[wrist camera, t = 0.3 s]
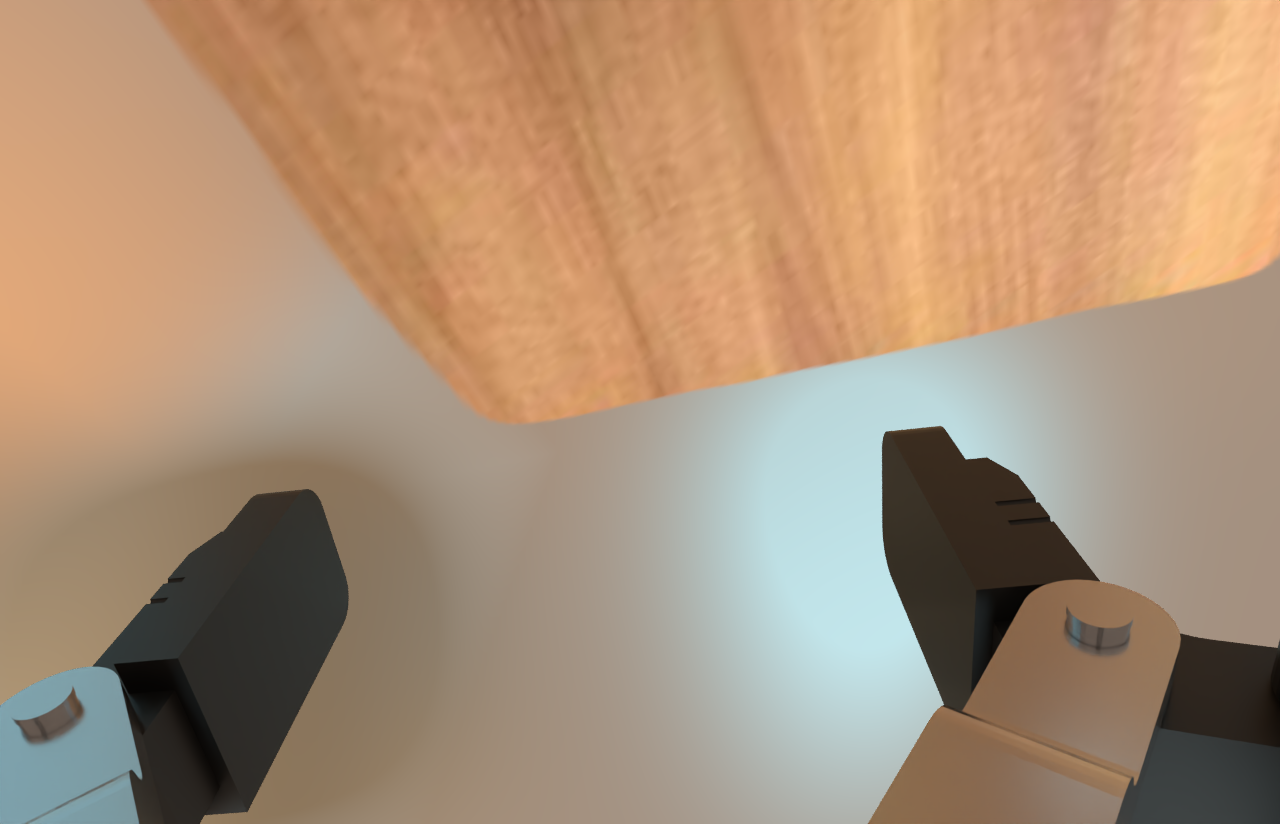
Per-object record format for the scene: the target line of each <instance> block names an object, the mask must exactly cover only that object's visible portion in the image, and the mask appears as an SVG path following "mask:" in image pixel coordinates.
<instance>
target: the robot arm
mask: <svg viewBox="0 0 1280 824" xmlns="http://www.w3.org/2000/svg"><path fill="white" fill-rule="evenodd" d="M882 523H883V524H882V528H883V542H884V550H885V556H886V560H887V564H888V568H889V572H890V575H891V577H892V580H893V582H894V584H895V587H896V589H897V592H898V594H899V597H900V599H901V601H902V604H903V606H904V609H905V611H906V613H907V616H908V618H909V621H910V623H911V625H912V628H913V630H914V633H915V635H916V638H917V640H918V642H919V645H920V647H921V650H922V652H923V654H924V657H925V659H926V662H927V664H928V667H929V669H930V671H931V674H932V676H933V679H934V681H935V683H936V686H937V688H938V691H939V693H940V696H941V698H942V701H943V703H944V705H943V706H941V707H940V708H939V709H937V711H936V712H935V713H934V714H933V716H932V717H931V719H930V720H929V722H928V723H927V725H926V727H925V729H924V730H923V732H922V733H921V735H920V737H919V739H918V740H917V742H916V744H915V745H914V747H913V749H912V750H911V752H910V754H909V756H908V757H907V759H906V760H905V762H904V764H903V765H902V767H901V769H900V771H899V772H898V774H897V776H896V777H895V779H894V781H893V782H892V784H891V786H890V787H889V789H888V791H887V792H886V794H885V796H884V798H883V799H882V801H881V803H880V804H879V806H878V808H877V809H876V811H875V813H874V814H873V816H872V818H871V820H870V821H869V823H868V824H1280V641H1279V645H1278V648H1274V647H1266V646H1257V645H1250V644H1241V643H1233V642H1226V641H1217V640H1210V639H1204V638H1198V637H1193V636H1189V635H1184V634H1180V632H1179V629H1178V627H1177V625H1176V623H1175V621H1174V620H1173V619H1172V618H1171V616H1170V615H1169V614H1168V613H1167V612H1166V611H1165V610H1164V609H1163V608H1161V607H1160V606H1159V605H1158V604H1156V603H1155V602H1153V601H1152V600H1150V599H1148V598H1147V597H1145V596H1142V595H1141V594H1139V593H1137V592H1134V591H1132V590H1129V589H1127V588H1124V587H1120V586H1117V585H1114V584H1109V583H1105V582H1100V580H1099V579H1098V578H1097V577H1096V575H1095V574H1094V573H1093V572H1092V570H1091V569H1090V568H1089V566H1088V565H1087V564H1086V562H1085V561H1084V560H1083V559H1082V557H1081V556H1080V555H1079V553H1078V552H1077V551H1076V549H1075V548H1074V547H1073V546H1072V544H1071V543H1070V542H1069V540H1068V539H1067V538H1066V537H1065V535H1064V534H1063V533H1062V532H1061V530H1060V529H1059V528H1058V526H1057V525H1056V524H1055V522H1051V521H1050V516H1049V515H1048V513H1047V512H1046V511H1045V510H1044V508H1043V507H1042V506H1041V504H1040V503H1038V502H1037V503H1036V500H1035V497H1034V495H1033V494H1032V493H1031V491H1030V490H1029V489H1028V488H1027V486H1026V485H1025V484H1024V482H1023V481H1022V480H1021V479H1020V477H1019V476H1018V475H1016V474H1015V473H1013V472H1011V471H1009V470H1008V469H1006V468H1004V467H1002V466H1001V465H999V464H997V463H995V462H994V461H992V460H990V459H989V458H977V459H967V460H966V459H965V458H964V456H963V455H962V453H961V452H960V451H959V449H958V448H957V446H956V445H955V443H954V442H953V440H952V439H951V438H950V436H949V435H948V433H947V432H946V430H945V429H944V428H943V427H941V426H937V427H927V428H917V429H907V430H897V431H888V432H885V434H884V437H883V443H882ZM150 600H151V603H150V604H146V605H145V606H144V607H143V608H142V609H141V611H140V612H139V613H138V614H137V615H136V616H135V618H134V619H133V620H132V621H131V622H130V624H129V625H128V626H127V627H126V628H125V629H124V630H123V632H122V633H121V634H120V635H119V636H118V637H117V639H116V640H115V641H114V642H113V644H111V646H110V647H109V648H108V649H107V650H106V651H105V653H104V654H103V655H102V656H101V657H100V658H99V659H98V661H97V662H96V663H95V664H94V665H93V666H92V667H83V668H77V669H72V670H68V671H65V672H62V673H58V674H55V675H53V676H50V677H48V678H45V679H43V680H41V681H39V682H37V683H35V684H33V685H31V686H29V687H27V688H26V689H24V690H22V691H20V692H19V693H17V694H16V695H14V696H13V697H11V698H9V699H8V700H7V701H6V702H4V703H3V704H2V705H0V824H200V822H201V820H202V819H203V817H204V815H212V814H225V813H239V812H248V810H249V808H250V806H251V804H252V802H253V800H254V798H255V796H256V794H257V792H258V790H259V788H260V786H261V784H262V782H263V780H264V778H265V776H266V774H267V773H268V771H269V769H270V767H271V765H272V763H273V761H274V759H275V757H276V755H277V753H278V751H279V749H280V747H281V745H282V743H283V741H284V739H285V737H286V735H287V733H288V731H289V730H290V728H291V725H292V724H293V721H294V720H295V717H296V716H297V714H298V712H299V710H300V707H301V706H302V704H303V702H304V700H305V698H306V696H307V694H308V692H309V690H310V688H311V686H312V684H313V683H314V680H315V679H316V677H317V674H318V673H319V671H320V669H321V667H322V665H323V663H324V661H325V659H326V657H327V655H328V653H329V651H330V649H331V647H332V645H333V643H334V641H335V639H336V637H337V636H338V633H339V632H340V630H341V628H342V626H343V624H344V621H345V619H346V615H347V610H348V585H347V581H346V576H345V573H344V570H343V567H342V564H341V561H340V558H339V555H338V552H337V549H336V546H335V543H334V540H333V537H332V534H331V531H330V528H329V525H328V522H327V519H326V516H325V513H324V510H323V506H322V504H321V501H320V499H319V498H318V496H317V495H316V494H315V493H314V492H313V491H311V490H309V489H305V490H295V491H285V492H275V493H266V494H257V495H255V496H253V497H252V498H251V499H250V500H249V501H248V503H247V504H246V505H245V506H244V507H243V509H242V510H241V511H240V512H239V513H238V515H237V516H236V517H235V518H234V520H233V521H232V522H231V523H230V524H229V525H228V527H227V528H226V529H225V530H224V532H220V533H219V534H217V535H216V536H214V537H213V538H212V539H210V540H209V541H207V542H206V543H204V544H203V545H202V546H200V547H199V548H197V549H196V550H195V551H193V552H192V553H190V554H189V555H188V556H187V557H186V558H185V559H184V561H183V562H182V563H181V564H180V565H179V567H178V568H177V569H176V570H175V571H174V572H173V574H172V575H171V576H170V577H169V578H168V583H166V584H163V585H162V586H161V587H160V589H159V590H158V591H157V592H156V593H155V595H154V596H153V597H152V598H151V599H150Z"/></svg>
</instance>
